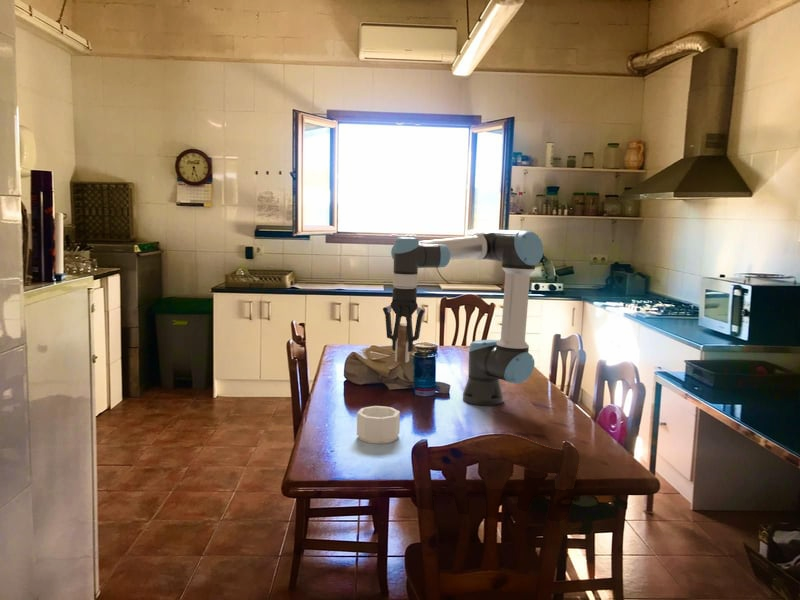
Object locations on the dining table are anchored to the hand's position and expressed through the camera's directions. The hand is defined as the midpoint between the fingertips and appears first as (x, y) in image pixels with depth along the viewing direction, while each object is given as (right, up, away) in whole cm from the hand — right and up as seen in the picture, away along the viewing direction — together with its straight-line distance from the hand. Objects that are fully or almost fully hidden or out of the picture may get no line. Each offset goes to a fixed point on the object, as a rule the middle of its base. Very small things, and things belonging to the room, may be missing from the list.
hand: (402, 361), depth 205 cm
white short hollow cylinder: (-7, -24, -2) cm, 25 cm away
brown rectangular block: (0, 0, 0) cm, 0 cm away
